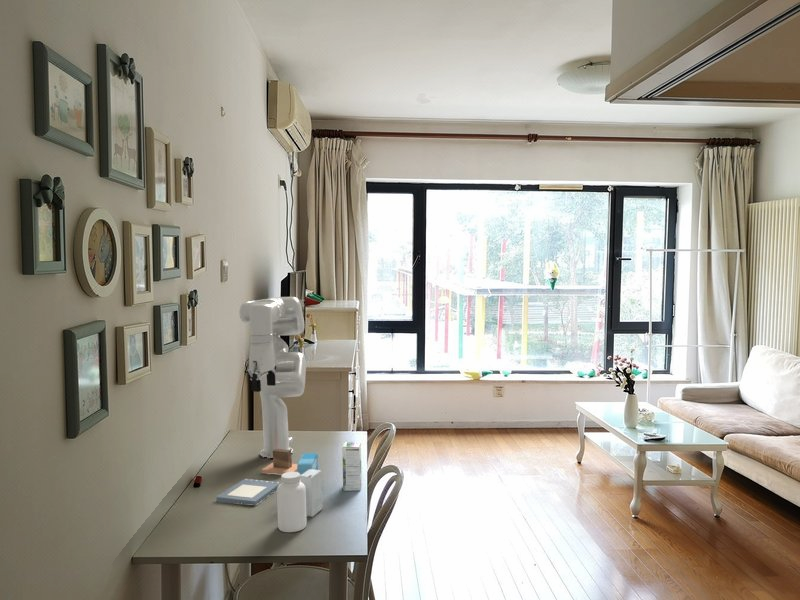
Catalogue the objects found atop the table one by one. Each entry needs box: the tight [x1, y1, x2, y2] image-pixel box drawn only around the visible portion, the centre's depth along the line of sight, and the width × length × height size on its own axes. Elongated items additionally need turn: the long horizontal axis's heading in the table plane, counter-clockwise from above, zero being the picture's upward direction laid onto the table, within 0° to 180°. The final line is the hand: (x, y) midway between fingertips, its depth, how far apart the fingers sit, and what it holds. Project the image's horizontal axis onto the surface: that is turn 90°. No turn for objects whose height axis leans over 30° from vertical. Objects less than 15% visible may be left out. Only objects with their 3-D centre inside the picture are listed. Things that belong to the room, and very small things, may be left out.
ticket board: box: [215, 478, 281, 505], centre depth 194 cm, size 16×14×2 cm
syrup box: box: [341, 441, 363, 492], centre depth 197 cm, size 6×6×14 cm
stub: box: [261, 449, 298, 474], centre depth 214 cm, size 8×12×8 cm, turn 72°
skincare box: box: [300, 469, 323, 518], centre depth 178 cm, size 6×4×12 cm
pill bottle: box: [276, 472, 307, 533], centre depth 169 cm, size 8×8×15 cm
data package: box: [297, 452, 319, 475], centre depth 192 cm, size 12×4×12 cm, turn 179°
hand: (264, 388), depth 211 cm, fingers open, 9 cm apart
